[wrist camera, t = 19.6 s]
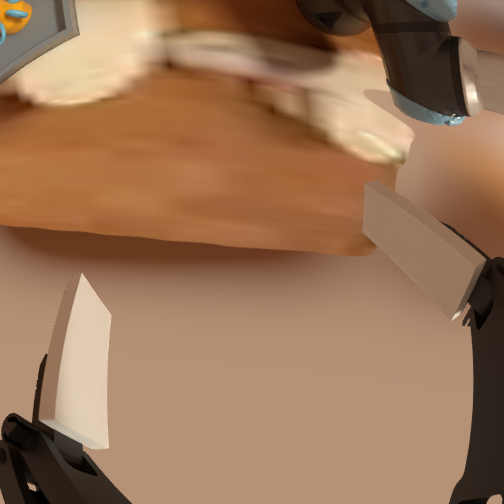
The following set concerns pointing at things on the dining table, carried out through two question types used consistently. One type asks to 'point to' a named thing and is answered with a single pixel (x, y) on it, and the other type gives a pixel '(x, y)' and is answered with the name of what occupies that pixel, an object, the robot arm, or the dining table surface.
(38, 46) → the tray
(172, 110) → the dining table surface
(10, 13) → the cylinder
